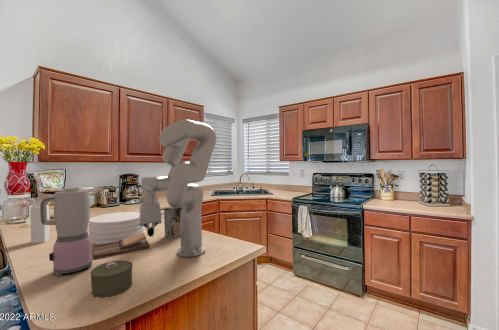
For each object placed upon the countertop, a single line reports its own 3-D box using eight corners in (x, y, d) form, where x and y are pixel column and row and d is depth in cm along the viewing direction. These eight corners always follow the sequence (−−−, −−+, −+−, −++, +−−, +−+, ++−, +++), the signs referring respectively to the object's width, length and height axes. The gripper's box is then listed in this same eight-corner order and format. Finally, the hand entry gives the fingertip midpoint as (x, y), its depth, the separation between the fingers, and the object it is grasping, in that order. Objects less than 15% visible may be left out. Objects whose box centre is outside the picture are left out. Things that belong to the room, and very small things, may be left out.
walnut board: (149, 248, 115) (149, 243, 115) (93, 259, 103) (93, 252, 103) (145, 239, 128) (145, 235, 128) (94, 248, 116) (94, 242, 116)
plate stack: (101, 248, 117) (101, 225, 117) (81, 238, 134) (80, 218, 134) (154, 234, 139) (153, 215, 139) (130, 227, 156) (130, 210, 156)
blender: (89, 260, 101) (88, 186, 101) (95, 268, 93) (94, 187, 93) (40, 272, 90) (38, 189, 90) (42, 283, 82) (41, 191, 82)
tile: (121, 246, 111) (121, 248, 111) (145, 236, 117) (146, 238, 117) (120, 240, 119) (120, 242, 120) (143, 232, 125) (143, 233, 125)
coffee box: (177, 232, 141) (177, 205, 141) (184, 234, 137) (184, 207, 137) (164, 236, 134) (163, 208, 134) (170, 238, 130) (170, 209, 130)
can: (91, 303, 70) (91, 280, 70) (90, 286, 79) (89, 266, 79) (136, 290, 77) (135, 269, 77) (129, 276, 86) (129, 257, 86)
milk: (36, 240, 130) (35, 200, 130) (49, 239, 132) (49, 200, 132) (30, 244, 124) (30, 202, 125) (45, 242, 127) (44, 201, 127)
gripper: (134, 203, 115) (135, 240, 115) (166, 199, 123) (167, 235, 123) (133, 201, 121) (134, 236, 121) (163, 198, 129) (164, 232, 129)
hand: (150, 235), depth 122 cm, fingers closed
